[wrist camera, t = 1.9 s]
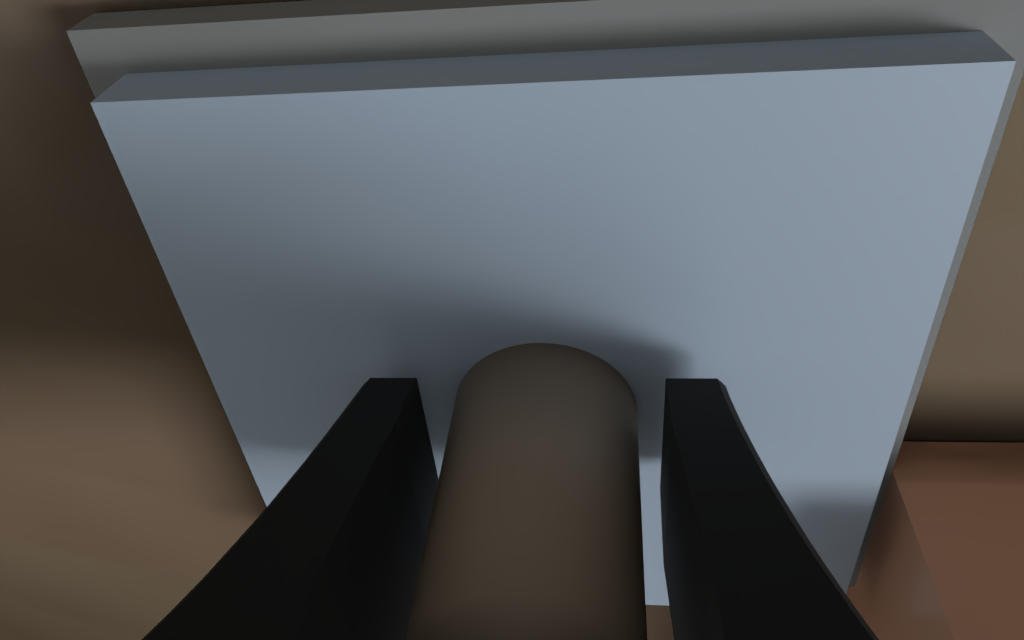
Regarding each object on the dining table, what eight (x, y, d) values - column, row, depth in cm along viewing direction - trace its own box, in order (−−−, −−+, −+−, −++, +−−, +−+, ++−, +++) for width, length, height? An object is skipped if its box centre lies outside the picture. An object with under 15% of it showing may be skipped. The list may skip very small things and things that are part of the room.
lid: (829, 568, 13) (904, 865, 10) (317, 553, 14) (230, 813, 11) (982, 30, 8) (1274, 294, 4) (126, 73, 9) (-167, 308, 5)
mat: (846, 556, 14) (854, 586, 13) (306, 540, 15) (297, 567, 15) (1029, -43, 8) (1055, -26, 7) (93, 13, 9) (65, 30, 9)
